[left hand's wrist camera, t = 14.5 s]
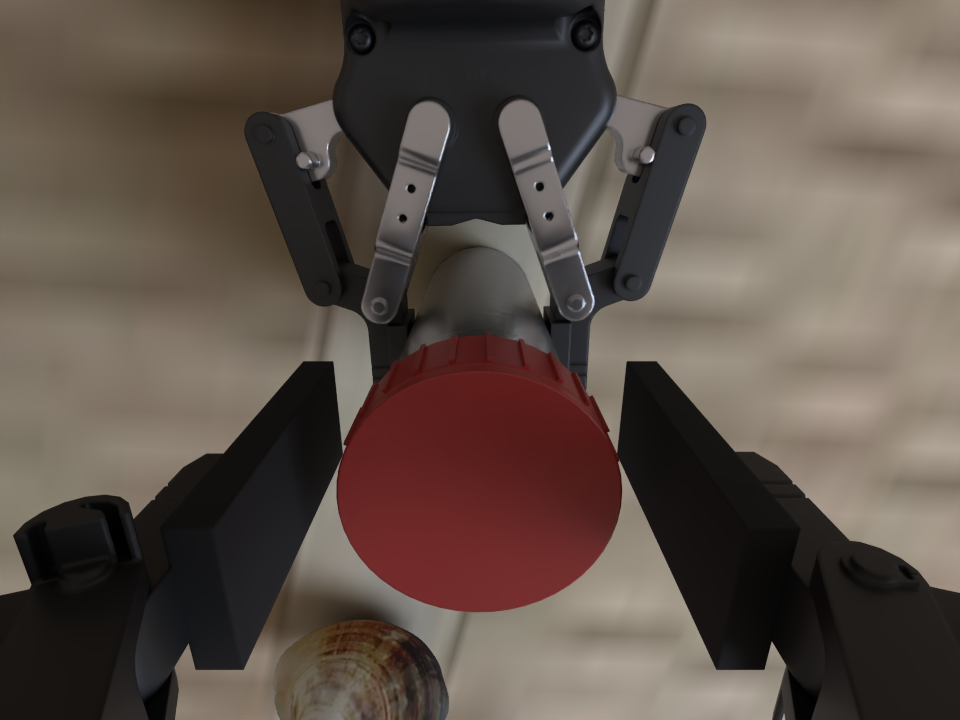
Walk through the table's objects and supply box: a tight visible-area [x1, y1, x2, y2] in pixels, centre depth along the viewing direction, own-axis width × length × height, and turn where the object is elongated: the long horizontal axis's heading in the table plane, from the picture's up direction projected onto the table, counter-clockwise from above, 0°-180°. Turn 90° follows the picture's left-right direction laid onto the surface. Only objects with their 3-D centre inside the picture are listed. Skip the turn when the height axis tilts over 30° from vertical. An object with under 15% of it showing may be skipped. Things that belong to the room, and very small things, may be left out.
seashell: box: [273, 620, 449, 720], centre depth 28 cm, size 10×6×8 cm, turn 83°
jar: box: [399, 247, 561, 363], centre depth 18 cm, size 5×5×16 cm
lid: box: [337, 333, 622, 612], centre depth 11 cm, size 6×6×2 cm
